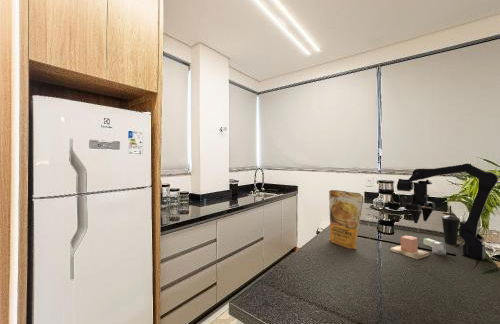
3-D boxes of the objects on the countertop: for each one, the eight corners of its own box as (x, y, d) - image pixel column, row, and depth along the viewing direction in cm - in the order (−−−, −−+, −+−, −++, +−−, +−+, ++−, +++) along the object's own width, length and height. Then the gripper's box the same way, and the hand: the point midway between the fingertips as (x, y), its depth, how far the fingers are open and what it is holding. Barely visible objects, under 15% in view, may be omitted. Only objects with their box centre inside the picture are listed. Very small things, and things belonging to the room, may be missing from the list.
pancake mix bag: (332, 238, 132) (332, 189, 133) (364, 249, 116) (364, 192, 116) (324, 240, 129) (324, 189, 129) (355, 251, 112) (355, 193, 113)
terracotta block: (417, 251, 110) (417, 238, 110) (412, 252, 108) (412, 239, 108) (406, 247, 114) (406, 235, 115) (400, 249, 112) (400, 237, 112)
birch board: (429, 255, 108) (429, 252, 108) (417, 259, 103) (417, 256, 103) (401, 247, 119) (401, 244, 119) (390, 250, 114) (390, 248, 114)
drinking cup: (464, 245, 121) (463, 207, 122) (449, 245, 122) (449, 207, 122) (451, 240, 129) (451, 204, 129) (437, 240, 129) (437, 204, 129)
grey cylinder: (447, 254, 110) (447, 243, 110) (442, 256, 107) (442, 245, 107) (435, 250, 114) (435, 240, 114) (430, 252, 112) (430, 242, 112)
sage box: (439, 248, 118) (439, 242, 118) (433, 248, 118) (433, 242, 118) (428, 244, 124) (428, 238, 124) (423, 244, 124) (423, 238, 124)
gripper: (413, 190, 134) (413, 217, 134) (394, 191, 125) (394, 220, 125) (436, 192, 124) (436, 221, 124) (417, 194, 115) (417, 225, 115)
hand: (420, 222), depth 122 cm, fingers open, 9 cm apart
